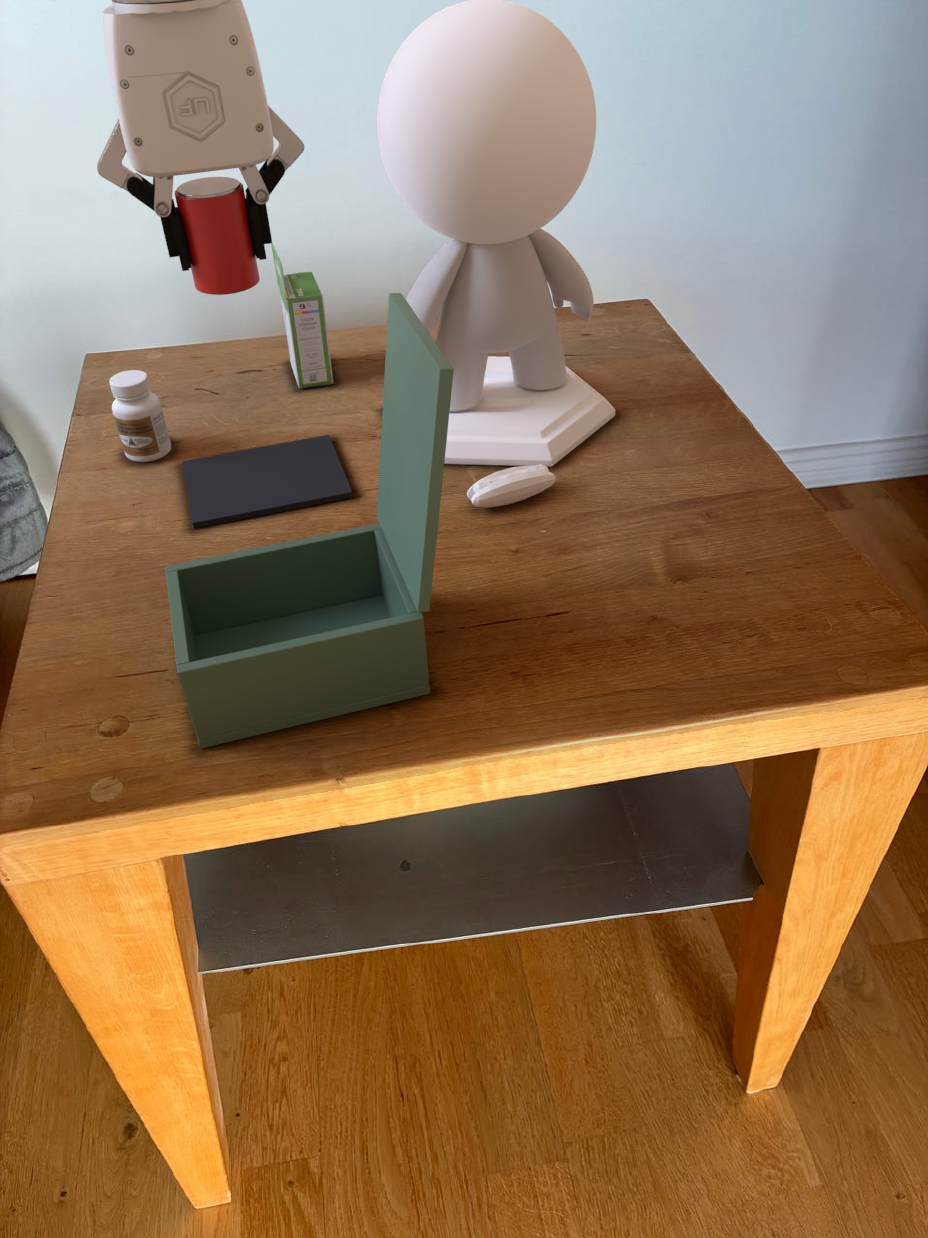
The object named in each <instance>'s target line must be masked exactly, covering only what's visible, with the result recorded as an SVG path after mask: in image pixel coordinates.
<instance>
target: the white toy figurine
mask: <svg viewBox="0 0 928 1238" xmlns="http://www.w3.org/2000/svg"><path fill="white" fill-rule="evenodd" d="M596 134H597V108H596V99H595V94H594V90H593V86H592V82H591V79H590V76H589V73H588V70H587V68H586V66H585V64H584V61H583V60H582V58H581V56H580V54H579V52H578V51H577V49H576V48H575V46H574V45H573V43H572V41H571V40H570V39H569V38H568V37H567V36H566V35H565V34H564V33H563V31H562V30H561V29H560V28H559V27H557V26H556V24H554V23H553V22H552V21H550V20H549V19H548V18H547V17H545V16H544V15H542V14H541V13H539V12H537V11H535V10H533V9H531V8H529V7H527V6H525V5H523V4H519V3H517V2H513V1H509V0H466V1H465V0H464V1H461V2H458V3H454V4H452V5H449V6H447V7H445V8H443V9H440V10H439V11H437V12H435V13H434V14H432V15H430V16H429V17H427V18H426V19H425V20H423V22H421V23H420V24H418V26H417V27H415V28H414V29H413V30H412V31H411V32H410V33H409V35H407V37H406V38H405V39H404V40H403V42H402V43H401V45H400V46H399V48H398V49H396V51H395V53H394V55H393V57H392V59H391V61H390V63H389V64H388V67H387V69H386V72H385V74H384V77H383V80H382V83H381V87H380V91H379V95H378V101H377V109H376V137H377V145H378V150H379V155H380V159H381V162H382V164H383V168H384V170H385V174H386V176H387V179H388V180H389V182H390V184H391V186H392V188H393V189H394V191H395V193H396V194H397V196H398V198H399V199H400V200H401V202H402V203H403V204H404V206H405V207H406V208H407V209H408V210H409V211H410V213H412V214H413V216H415V217H416V218H417V219H418V220H419V221H421V222H422V223H423V224H424V225H426V226H427V227H429V228H430V229H432V230H433V231H435V232H437V233H438V234H441V235H443V236H444V237H447V238H449V239H452V240H450V241H449V242H447V243H445V244H444V245H443V246H441V248H440V249H439V250H438V251H437V252H436V253H435V254H434V256H433V257H432V258H431V259H430V261H429V262H428V263H427V264H426V266H424V268H423V270H422V271H421V273H420V274H419V276H418V277H417V279H416V281H415V282H414V284H413V285H412V287H411V289H410V290H409V292H408V293H407V296H406V298H405V299H406V301H407V302H408V304H409V305H410V307H411V308H412V310H413V311H414V312H415V314H416V315H417V317H418V318H419V320H420V321H421V323H422V324H423V326H424V327H425V328H426V330H427V331H428V333H429V334H430V335H432V333H433V331H434V330H435V328H436V326H437V330H436V335H435V339H434V341H435V343H436V344H437V346H438V347H439V349H440V350H441V352H442V353H443V354H444V356H445V357H446V359H447V360H448V362H449V363H450V365H451V366H452V367H453V369H454V372H453V382H452V392H451V402H450V412H449V422H448V431H447V441H446V451H445V461H444V465H469V466H470V465H471V466H472V465H474V466H475V465H477V466H509V467H510V466H511V467H512V466H513V467H519V466H529V465H535V466H537V465H540V464H542V465H545V466H547V467H548V468H550V467H553V466H554V465H556V464H557V463H558V462H559V461H561V460H562V459H563V458H564V457H566V456H567V455H568V454H569V453H571V452H572V451H573V450H574V449H576V448H577V447H578V446H580V445H581V444H582V443H584V442H585V440H587V439H589V438H590V437H591V436H592V435H593V434H595V433H596V432H597V431H598V430H599V429H601V428H602V427H603V426H604V425H605V424H607V423H608V422H609V421H610V420H612V419H613V418H614V417H615V416H616V409H615V408H614V406H613V405H612V404H611V403H610V402H609V401H608V399H606V398H605V397H604V396H603V395H602V394H601V393H600V392H598V391H597V390H596V389H594V388H593V387H592V386H591V385H590V384H589V383H587V382H586V381H585V380H584V379H582V378H581V377H580V376H579V375H577V374H576V373H575V372H574V371H573V370H572V369H570V368H569V367H568V366H567V365H566V362H565V361H566V360H565V355H564V354H565V353H564V348H563V343H562V337H561V332H560V328H559V323H558V319H557V318H558V317H557V315H556V314H557V313H556V310H555V308H556V309H558V310H559V309H562V308H563V307H564V301H566V302H569V303H570V304H569V305H570V311H571V312H572V313H573V314H575V315H576V316H577V317H578V318H580V319H581V320H582V321H584V322H586V323H587V322H588V323H589V322H590V321H591V319H592V316H593V314H594V307H595V305H594V293H593V290H592V286H591V284H590V281H589V278H588V276H587V275H586V273H585V271H584V269H583V268H582V267H581V265H580V264H579V262H578V261H577V259H576V258H575V257H574V256H573V255H572V253H571V252H570V251H569V250H568V249H567V248H566V246H565V245H563V244H562V242H561V241H559V240H558V239H557V238H555V236H553V235H552V234H551V233H549V232H548V231H547V230H545V229H543V227H545V226H546V225H547V224H549V223H550V222H551V221H552V220H554V219H555V218H556V217H557V216H558V215H559V214H560V213H561V212H562V211H563V210H564V209H565V208H566V207H567V205H569V203H570V202H571V201H572V199H573V198H574V196H575V194H576V193H577V191H578V190H579V188H580V186H581V185H582V183H583V181H584V178H585V176H586V174H587V172H588V169H589V167H590V163H591V160H592V157H593V153H594V148H595V143H596V136H597V135H596ZM437 324H438V325H437ZM502 353H508V354H509V355H508V356H495V355H494V356H491V355H490V356H489V354H502Z"/></svg>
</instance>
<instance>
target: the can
mask: <svg viewBox="0 0 928 1238" xmlns="http://www.w3.org/2000/svg"><path fill="white" fill-rule="evenodd" d="M174 198H175V202H176V207H178V212H179V214H180V218H181V222H182V227H183V231H184V236H185V241H186V245H187V250H188V254H189V259H190V263H191V268H190V270H191V274H192V278H193V279H192V280H193V283H194V287H195V289H196V290H197V291H198V292H199V293H202V294H205V295H212V296H213V295H214V296H225V295H233V294H238V293H241V292H245V291H247V290H248V291H249V290H250V289H252V288H254V287H255V286H256V285H258V284H259V282H260V273H259V266H258V261H257V258H256V255H255V250H254V245H253V239H252V233H251V228H250V222H249V216H248V211H247V205H246V199H245V198H246V192H245V188H244V184H243V183H242V182H241V181H239V180H238V179H236V178H233V177H229V176H207V177H201V178H195V179H191V180H188V181H185V182H183V183H181V184H179V185H178V186H177V187H176V189H175V190H174Z"/></svg>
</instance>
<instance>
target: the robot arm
mask: <svg viewBox="0 0 928 1238" xmlns="http://www.w3.org/2000/svg"><path fill="white" fill-rule="evenodd" d="M111 3H112V4H111V5H109V6H107V7H105V8H104V9H103V10H102V23H103V35H104V36H103V37H104V46H105V53H106V59H107V66H108V72H109V73H108V74H109V77H110V82H111V87H112V93H113V98H114V103H115V107H116V112H117V117H118V119H117V121H116V123H115V125H114V127H113V128H112V131H111V133H110V135H109V137H108V140H107V142H106V143H105V145H104V149H103V150H102V152H101V154H100V156H99V159H98V161H97V164H96V165H97V166H96V169H97V173H98V175H99V176H100V177H101V178H103V179H104V180H106V181H108V182H110V183H111V184H113V185H114V186H116V187H118V188H120V189H123V190H125V191H126V192H128V193H129V194H130V195H131V196H132V197H134V198H135V199H137V200H138V201H140V202H141V203H142V204H143V205H145V206H147V208H149V209H150V210H152V211H154V213H155V214H156V216H158V217H159V219H160V222H161V227H162V231H163V235H164V238H165V243H166V249H167V252H168V256H169V258H176V257H179V261H180V266H181V271H182V272H185V271H190V269H191V263H190V259H189V254H188V250H187V245H186V241H185V236H184V231H183V227H182V222H181V218H180V214H179V212H178V207H177V206H176V205H175V201H174V198H173V189H174V177H175V176H176V177H177V176H183V175H184V176H185V175H192V174H200V173H208V172H209V173H210V172H216V171H225V170H233V169H239V172H240V174H241V176H242V178H243V180H244V182H245V185H246V189H244V192H245V199H246V205H247V211H248V216H249V222H250V228H251V233H252V239H253V245H254V250H255V255H256V259H259V261H263V260H267V253H266V247H265V245H269V244H270V245H271V243H273V239H272V233H271V227H270V226H271V225H270V220H269V215H268V209H267V203H268V202H269V201H270V200H269V199H270V196H271V194H272V193H273V191H274V190H275V188H276V187H277V185H278V184H279V183H280V181H281V180H282V178H284V176H285V173H286V171H287V170H288V169H289V168H291V167H292V165H294V163H295V162H296V160H297V159H299V157H300V156H301V155H302V154H303V153H304V150H305V144H304V142H303V140H302V139H301V137H299V135H298V134H296V132H295V131H294V130H293V129H292V128H291V127H290V126H289V125H288V124H287V123H286V122H285V121H284V120H283V119H282V118H281V117H280V115H278V114H277V113H276V112H275V110H274V109H272V108H271V107H270V105H269V104H268V99H267V94H266V88H265V83H264V79H263V74H262V70H261V64H260V60H259V55H258V52H257V48H256V42H255V39H254V36H253V35H254V34H253V32H252V28H251V25H250V22H249V19H248V15H247V11H246V9H245V6H244V4H243V1H242V0H111ZM274 139H275V140H276V141H277V142H278V146H277V147H276V149H275V150H274V147H275V146H274V145H275V144H274ZM126 154H127V157H128V160H129V163H130V164H131V166H132V168H133V169H134V171H136V172H134V171H132V170H131V169H130V168H128V167H127V166H125V165H124V164H123V160H124V158H125V156H126ZM262 163H263V164H262ZM260 164H262V165H261V167H260V169H258V166H257V165H260ZM144 176H146V177H152V182H150V181H149V180H147V179H146V178H145V177H144Z"/></svg>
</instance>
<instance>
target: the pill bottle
mask: <svg viewBox="0 0 928 1238" xmlns="http://www.w3.org/2000/svg"><path fill="white" fill-rule="evenodd" d="M109 387H110V390H111V391H110V392H111V393H112V396H113V397H114V398H115V399H114V400H113V402H112V404H111V412H112V416H113V419H114V422H115V425H116V429H117V432H118V436H119V439H120V442H121V445H122V448H123V452H124V455H125V456H126V458H127V459H128V460H130V461H132V462H136V463H137V462H138V463H149V462H154V461H157V460H161V459H163V458H164V457H166V456H167V455H168V454H169V453H170V451H171V450H172V442H171V438H170V435H169V431H168V426H167V423H166V419H165V415H164V412H163V408H162V404H161V401H160V398H159V397H158V395H157V394H155V393H154V392H152V387H151V382H150V379H149V376H148V373H146V372H145V371H143V370H139V369H130V370H129V369H128V370H124V371H120V372H118V373H116V374H114V375H111V377H110V378H109Z"/></svg>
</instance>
